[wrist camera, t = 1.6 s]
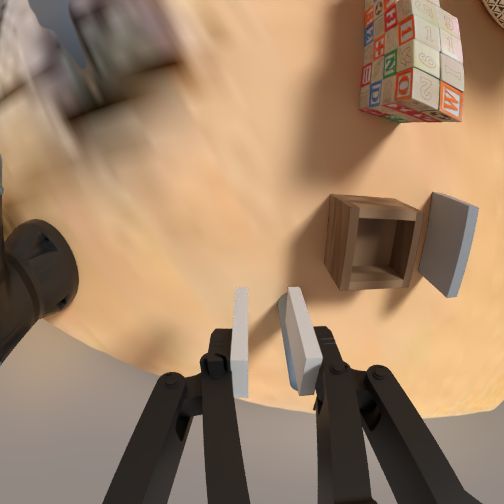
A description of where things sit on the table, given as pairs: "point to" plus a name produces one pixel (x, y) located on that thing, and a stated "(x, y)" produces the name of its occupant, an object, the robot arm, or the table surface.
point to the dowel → (286, 340)
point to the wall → (447, 243)
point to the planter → (495, 10)
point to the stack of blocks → (412, 62)
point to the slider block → (371, 242)
